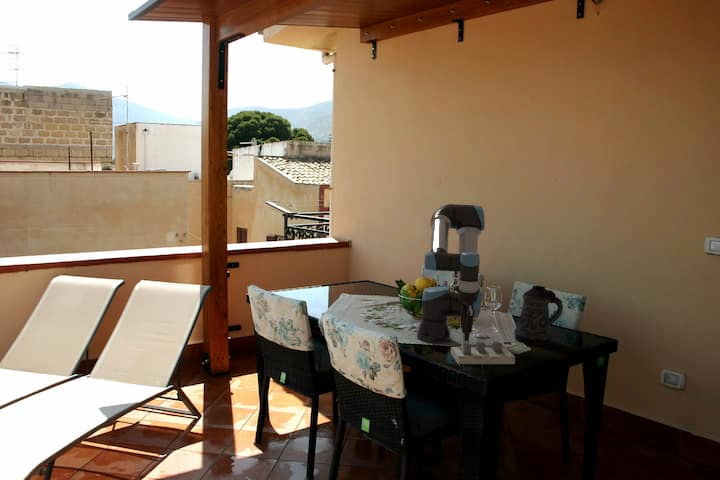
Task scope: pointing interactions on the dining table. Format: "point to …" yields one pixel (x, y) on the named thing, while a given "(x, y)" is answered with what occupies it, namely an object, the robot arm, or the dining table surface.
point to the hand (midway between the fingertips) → (465, 347)
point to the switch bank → (483, 356)
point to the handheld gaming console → (514, 347)
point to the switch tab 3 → (497, 347)
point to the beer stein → (537, 316)
